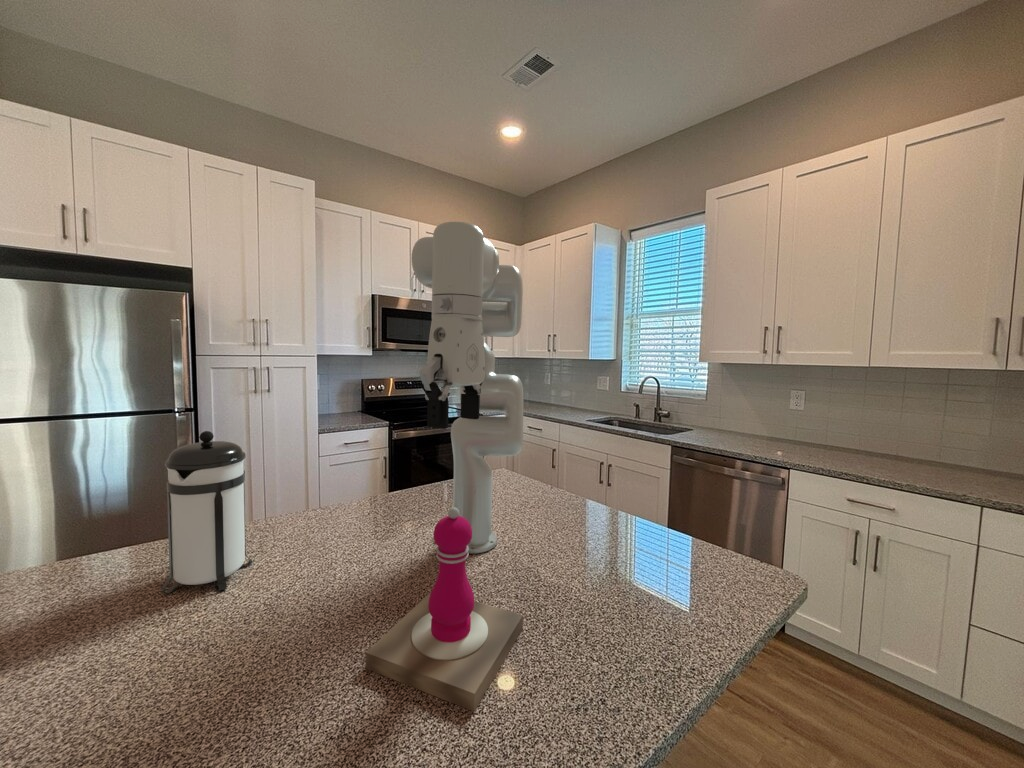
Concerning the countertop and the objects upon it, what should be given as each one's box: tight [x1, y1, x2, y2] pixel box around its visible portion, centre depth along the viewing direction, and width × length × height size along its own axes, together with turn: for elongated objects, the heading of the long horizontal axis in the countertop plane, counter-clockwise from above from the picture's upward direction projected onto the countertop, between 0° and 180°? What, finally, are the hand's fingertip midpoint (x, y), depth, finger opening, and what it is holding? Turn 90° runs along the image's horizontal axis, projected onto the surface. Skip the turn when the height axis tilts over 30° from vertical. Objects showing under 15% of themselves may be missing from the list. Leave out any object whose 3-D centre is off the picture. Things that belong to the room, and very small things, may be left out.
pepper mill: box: [428, 506, 475, 642], centre depth 66 cm, size 7×7×20 cm
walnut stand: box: [365, 591, 524, 712], centre depth 66 cm, size 18×18×3 cm
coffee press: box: [161, 430, 253, 595], centre depth 84 cm, size 17×16×30 cm
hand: (454, 422), depth 64 cm, fingers open, 9 cm apart
